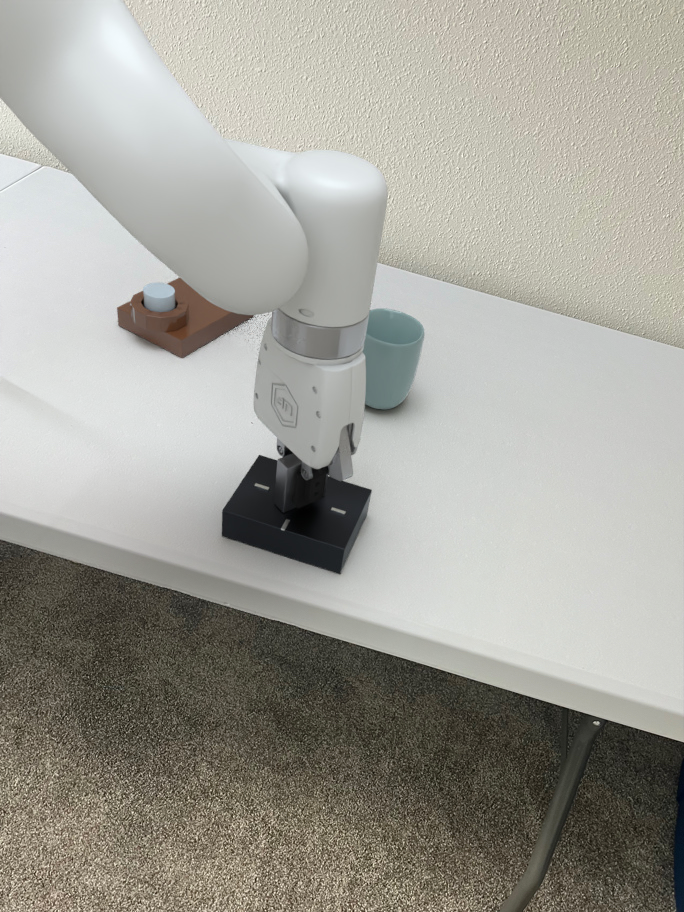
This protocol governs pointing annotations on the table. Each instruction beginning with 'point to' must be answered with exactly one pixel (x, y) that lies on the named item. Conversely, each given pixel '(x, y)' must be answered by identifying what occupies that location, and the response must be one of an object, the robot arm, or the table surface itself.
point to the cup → (391, 356)
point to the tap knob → (287, 481)
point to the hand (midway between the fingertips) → (300, 493)
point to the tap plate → (296, 519)
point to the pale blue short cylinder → (159, 297)
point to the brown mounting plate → (179, 320)
